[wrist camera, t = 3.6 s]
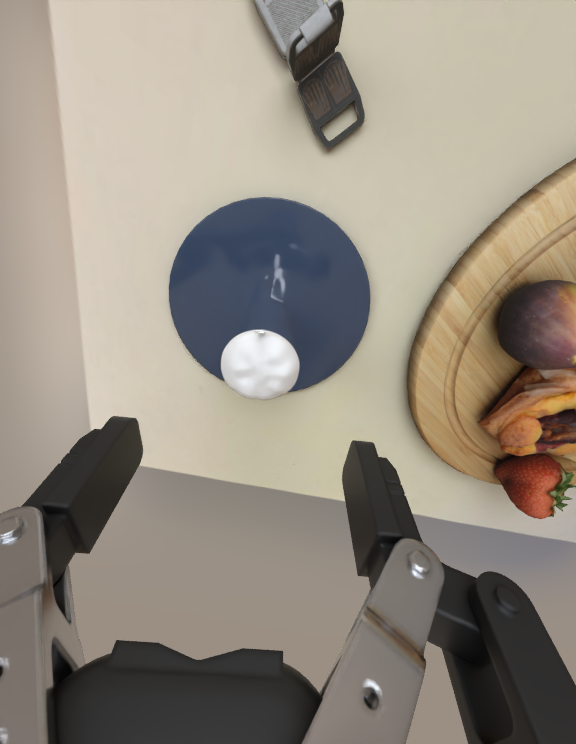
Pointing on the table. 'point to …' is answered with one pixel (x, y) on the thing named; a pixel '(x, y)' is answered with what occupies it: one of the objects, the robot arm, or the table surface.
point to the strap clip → (314, 58)
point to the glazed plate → (271, 283)
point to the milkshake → (262, 353)
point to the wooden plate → (507, 353)
